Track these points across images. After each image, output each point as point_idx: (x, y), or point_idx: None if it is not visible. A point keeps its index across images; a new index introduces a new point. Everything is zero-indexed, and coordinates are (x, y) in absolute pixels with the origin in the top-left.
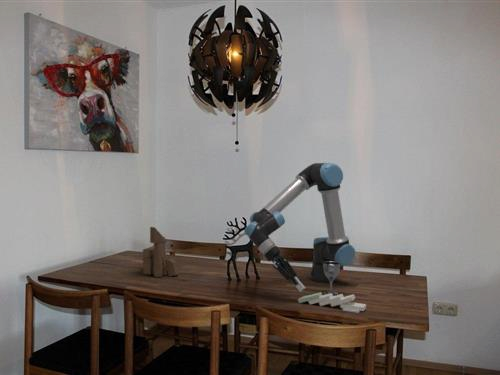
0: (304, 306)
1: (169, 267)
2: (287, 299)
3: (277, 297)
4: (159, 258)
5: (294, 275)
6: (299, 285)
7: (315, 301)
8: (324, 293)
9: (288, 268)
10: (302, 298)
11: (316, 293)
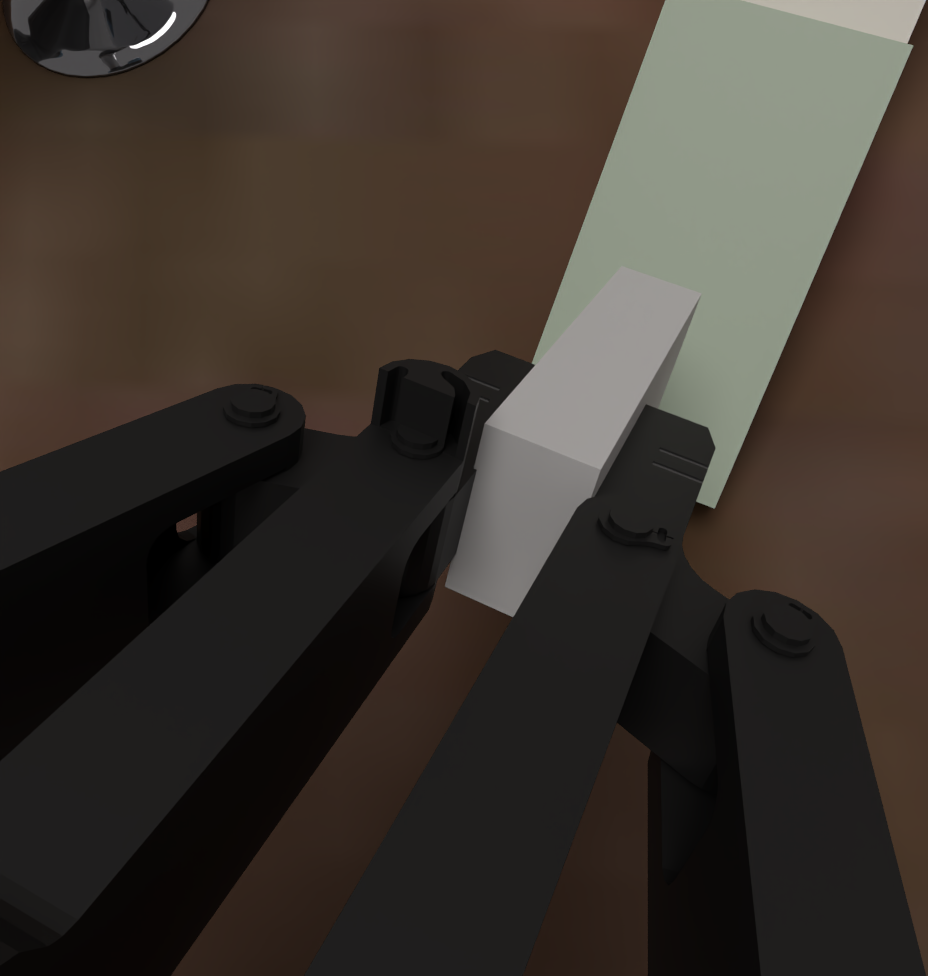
0: (922, 409)
1: None
2: None
3: None
4: None
5: (460, 472)
6: (655, 391)
7: None
8: (123, 62)
9: (239, 740)
10: (749, 409)
11: (658, 96)
